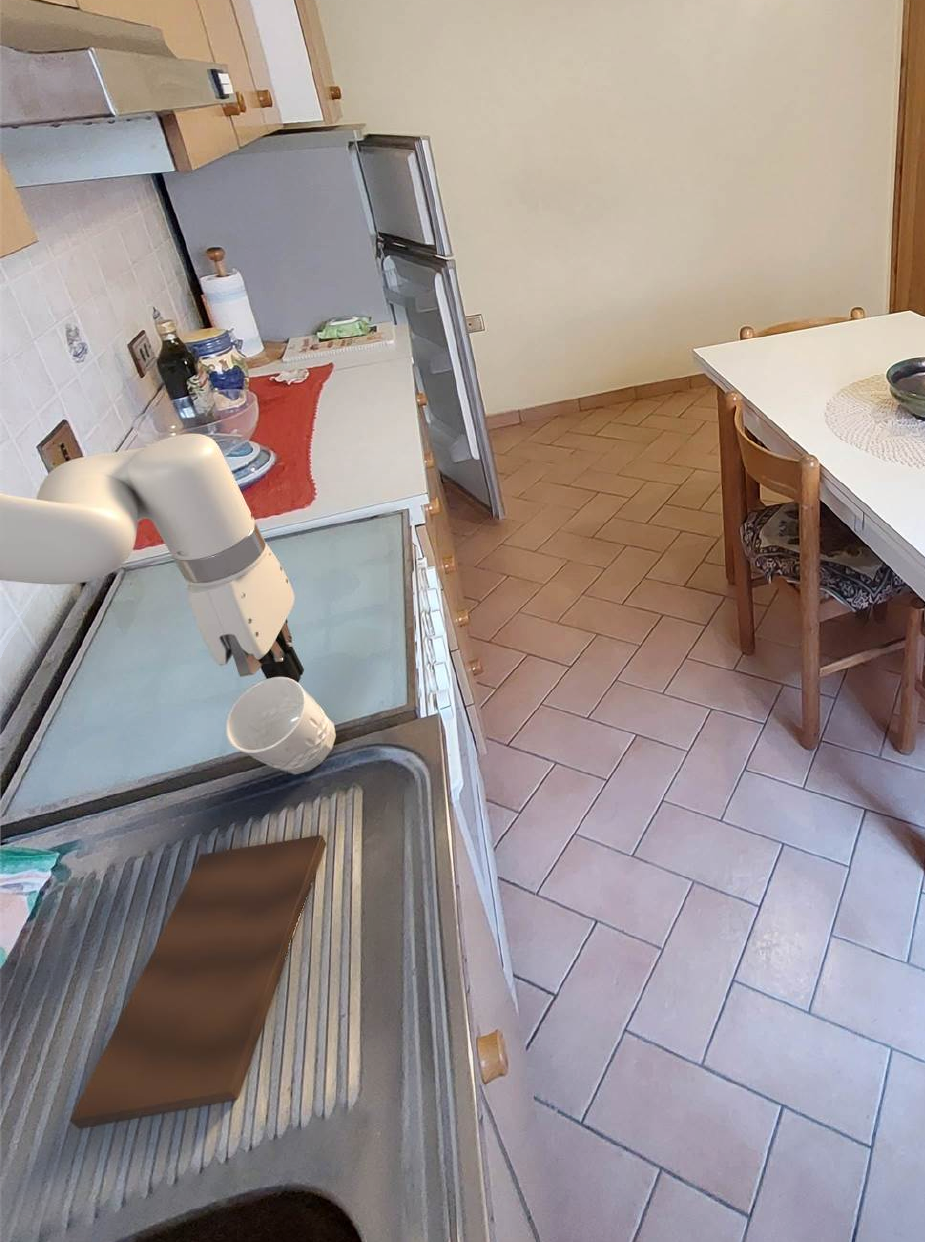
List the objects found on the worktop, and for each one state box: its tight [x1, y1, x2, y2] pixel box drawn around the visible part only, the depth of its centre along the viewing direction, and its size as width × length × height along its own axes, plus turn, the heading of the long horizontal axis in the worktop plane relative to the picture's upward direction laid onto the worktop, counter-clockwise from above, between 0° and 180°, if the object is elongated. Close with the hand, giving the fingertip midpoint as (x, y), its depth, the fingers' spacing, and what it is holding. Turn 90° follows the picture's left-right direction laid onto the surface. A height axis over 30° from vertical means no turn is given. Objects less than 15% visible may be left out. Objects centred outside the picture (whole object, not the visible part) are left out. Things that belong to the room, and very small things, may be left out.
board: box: [69, 834, 327, 1129], centre depth 68 cm, size 21×12×2 cm, turn 6°
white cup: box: [225, 677, 337, 775], centre depth 84 cm, size 8×8×10 cm
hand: (288, 679), depth 86 cm, fingers closed
